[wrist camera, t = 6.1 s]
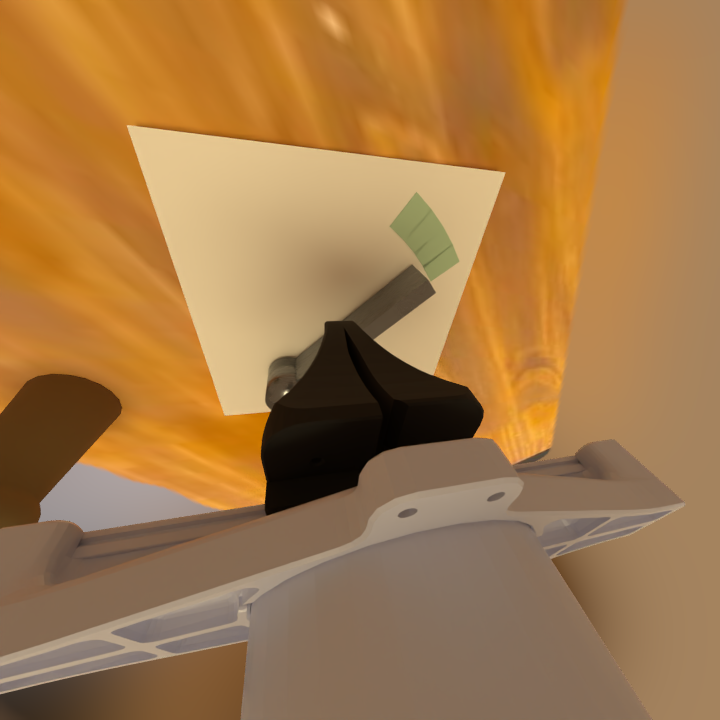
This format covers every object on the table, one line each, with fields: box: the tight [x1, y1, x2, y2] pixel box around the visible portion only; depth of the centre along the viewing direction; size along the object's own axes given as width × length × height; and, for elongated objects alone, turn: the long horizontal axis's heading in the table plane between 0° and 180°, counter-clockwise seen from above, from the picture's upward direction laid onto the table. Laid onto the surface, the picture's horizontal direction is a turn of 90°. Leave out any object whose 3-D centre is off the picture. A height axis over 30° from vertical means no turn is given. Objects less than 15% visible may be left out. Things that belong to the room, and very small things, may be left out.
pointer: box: [265, 265, 436, 410], centre depth 19 cm, size 15×3×3 cm, turn 127°
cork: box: [0, 374, 122, 529], centre depth 17 cm, size 6×6×11 cm
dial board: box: [127, 125, 505, 416], centre depth 20 cm, size 20×20×1 cm
